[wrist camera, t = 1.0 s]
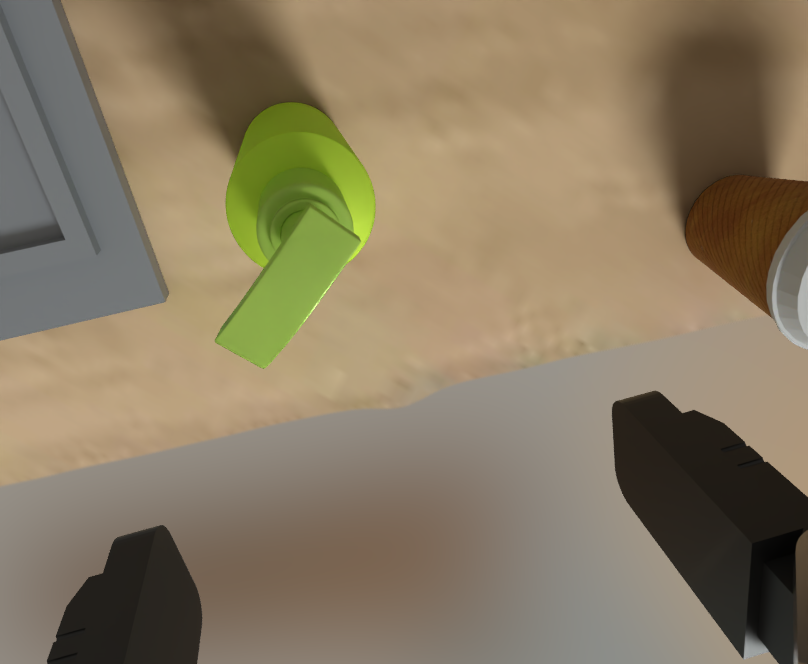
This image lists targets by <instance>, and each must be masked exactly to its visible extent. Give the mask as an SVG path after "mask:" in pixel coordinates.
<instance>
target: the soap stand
mask: <svg viewBox="0 0 808 664" xmlns="http://www.w3.org/2000/svg"><path fill="white" fill-rule="evenodd" d="M168 295H169V291H168V289H167V286H166V283H165V281H164V278H163V275H162V272H161V270H160V267H159V264H158V262H157V259H156V256H155V254H154V251H153V248H152V246H151V243H150V240H149V237H148V235H147V232H146V229H145V227H144V224H143V221H142V219H141V216H140V213H139V211H138V208H137V205H136V202H135V200H134V197H133V194H132V192H131V189H130V186H129V184H128V181H127V178H126V176H125V173H124V170H123V167H122V165H121V162H120V159H119V157H118V154H117V151H116V149H115V146H114V143H113V141H112V138H111V135H110V132H109V130H108V127H107V124H106V122H105V119H104V116H103V114H102V111H101V108H100V106H99V103H98V100H97V97H96V95H95V92H94V89H93V87H92V84H91V81H90V79H89V76H88V73H87V71H86V68H85V65H84V62H83V60H82V57H81V54H80V52H79V49H78V46H77V44H76V41H75V38H74V36H73V33H72V30H71V27H70V25H69V22H68V19H67V17H66V14H65V11H64V9H63V6H62V3H61V1H60V0H0V341H1V340H5V339H9V338H13V337H18V336H22V335H26V334H31V333H35V332H39V331H43V330H48V329H52V328H56V327H61V326H65V325H69V324H73V323H78V322H82V321H86V320H91V319H95V318H99V317H104V316H108V315H112V314H116V313H121V312H125V311H129V310H134V309H138V308H142V307H146V306H151V305H155V304H159V303H164V302H166V299H167V297H168Z"/></svg>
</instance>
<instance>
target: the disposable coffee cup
mask: <svg viewBox="0 0 808 664" xmlns="http://www.w3.org/2000/svg"><path fill="white" fill-rule="evenodd" d="M686 240H687V244H688V247H689V249H690V251H691V252H692V254H693V255H694V256H695V257H696V258H697V259H698V260H700V261H701V262H702V263H704V264H705V265H706V266H708V267H709V268H710V269H711V270H713V271H714V272H715V273H716V274H718V275H719V276H720V277H721V278H723V279H724V280H725V281H726V282H727V283H729V284H730V285H731V286H733V287H734V288H735V289H736V290H738V291H739V292H740V293H741V294H742V295H744V296H745V297H746V298H748V299H749V300H750V301H751V302H752V303H754V304H755V305H756V306H758V307H759V308H760V309H761V310H763V311H764V312H765V313H766V314H768V315H769V316H770V317H772V318H773V319H774V321H775V323H776V325H777V327H778V329H779V330H780V331H781V332H782V333H783V334H784V335H785V336H786V337H787V338H788V339H789V340H790V341H791V342H792V343H794V344H796V345H798V346H800V347H802V348H804V349H808V181H805V182H804V181H795V180H787V179H775V178H774V179H773V178H765V177H755V176H746V175H733V176H729V177H725V178H723V179H721V180H718V181H717V182H715V183H714V184H712V185H711V186H709V187H708V188H707V189H706V190H705V191H704V192H703V193H702V194H701V195H700V197H699V198H698V199H697V200H696V202H695V203H694V205H693V207H692V209H691V211H690V213H689V216H688V219H687V224H686Z"/></svg>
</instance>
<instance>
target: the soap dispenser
mask: <svg viewBox="0 0 808 664" xmlns="http://www.w3.org/2000/svg"><path fill="white" fill-rule="evenodd" d="M226 214H227V219H228V223H229V226H230V229H231V232H232V234H233V236H234V238H235V240H236V242H237V243H238V245H239V246H240V247H241V249H242V250H243V251H244V252H245V253H246V255H247V256H248V257H250V258H251V259H252V260H253V261H254V262H255V263H257V264H258V265H260V266H261V267H263V268H264V269H263V270H262V272H261V273H260V275H259V276H258V278H257V279H256V281H255V282H254V283H253V285H252V286H251V288H250V289H249V291H248V292H247V293H246V295H245V296H244V298H243V299H242V300H241V302H240V303H239V305H238V306H237V307H236V309H235V310H234V311H233V313H232V314H231V315H230V317H229V318H228V319H227V321H226V322H225V323H224V325H223V326H222V328H221V329H220V331H219V333H218V335H217V337H216V339H215V342H216V343H217V344H219V345H221V346H222V347H224V348H226V349H228V350H230V351H231V352H233V353H235V354H237V355H239V356H240V357H242V358H244V359H246V360H248V361H250V362H251V363H253V364H255V365H257V366H259V367H261V368H263V369H264V368H266V367H267V366H268V365H269V364H270V363H271V362H272V361H273V360H274V358H275V357H276V356H277V355H278V354H279V353H280V352H281V350H282V349H283V348H284V347H285V346H286V344H287V343H288V342H289V341H290V340H291V338H292V337H293V336H294V335H295V333H296V332H297V331H298V330H299V328H300V327H301V326H302V325H303V323H304V322H305V321H306V319H307V318H308V317H309V315H310V314H311V313H312V311H313V310H314V309H315V307H316V306H317V304H318V303H319V302H320V300H321V299H322V298H323V296H324V295H325V293H326V292H327V291H328V289H329V288H330V286H331V285H332V283H333V282H334V281H335V279H336V278H337V276H338V275H339V273H340V272H341V271H342V269H343V268H344V266H345V265H346V264H347V263H348V262H350V261H351V260H352V259H353V258H354V257H355V256H356V255H357V254H358V253H359V252H360V250H361V249H362V248H363V246H364V245H365V243H366V241H367V239H368V237H369V235H370V233H371V230H372V227H373V223H374V218H375V195H374V190H373V186H372V183H371V180H370V178H369V176H368V174H367V172H366V170H365V168H364V167H363V165H362V164H361V162H360V161H359V159H358V158H357V156H356V155H355V153H354V152H353V151H352V149H351V148H350V146H349V145H348V143H347V142H346V140H345V139H344V138H343V136H342V135H341V133H340V132H339V130H338V129H337V127H336V126H335V125H334V123H333V122H332V121H331V120H330V119H329V118H328V117H327V116H326V115H325V114H324V113H322V112H321V111H319V110H318V109H316V108H314V107H312V106H309V105H306V104H302V103H296V102H286V103H280V104H276V105H274V106H271V107H269V108H267V109H265V110H264V111H262V112H261V113H260V114H259V115H257V116H256V117H255V119H254V120H253V121H252V122H251V124H250V125H249V127H248V129H247V131H246V133H245V136H244V139H243V142H242V145H241V148H240V150H239V153H238V156H237V159H236V162H235V165H234V168H233V171H232V174H231V177H230V180H229V183H228V187H227V192H226Z"/></svg>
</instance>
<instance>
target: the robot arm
mask: <svg viewBox="0 0 808 664" xmlns="http://www.w3.org/2000/svg"><path fill="white" fill-rule="evenodd" d="M612 422H613V440H614V458H615V471H616V476H617V480H618V483H619V486H620V489H621V491H622V494H623V496H624V497H625V499H626V501H627V503H628V504H629V505H630V507H631V508H632V510H633V511H634V512H635V514H636V515H637V516H638V518H639V519H640V520H641V522H642V523H643V524H644V526H645V527H646V528H647V530H648V531H649V532H650V534H651V535H652V537H653V538H654V539H655V541H656V542H657V543H658V545H659V546H660V547H661V549H662V550H663V551H664V553H665V554H666V555H667V557H668V558H669V559H670V561H671V562H672V563H673V565H674V566H675V568H676V569H677V570H678V572H679V573H680V574H681V576H682V577H683V578H684V580H685V581H686V582H687V584H688V585H689V586H690V588H691V589H692V591H693V592H694V593H695V595H696V596H697V597H698V599H699V600H700V601H701V603H702V604H703V605H704V607H705V608H706V609H707V611H708V612H709V613H710V615H711V616H712V617H713V619H714V620H715V621H716V623H717V624H718V626H719V627H720V628H721V630H722V631H723V632H724V634H725V635H726V636H727V638H728V639H729V640H730V642H731V643H732V644H733V646H734V647H735V649H736V650H737V651H738V652H739V654H740V655H741V657H742V658H743V659H747V658H750V657H753V656H756V655H760V654H763V653H766V652H770V653H771V654H772V655H773V657H774V658H775V659H776V660H777V662H778V663H779V664H808V497H807V496H806V495H805V494H803V493H802V492H801V491H800V490H799V489H798V488H797V487H795V486H794V485H793V484H792V483H791V482H790V481H789V480H788V479H786V478H785V477H784V476H783V475H782V474H781V473H780V472H778V471H777V470H776V469H775V468H774V467H773V466H771V465H770V464H769V463H768V462H764V461H763V458H762V457H761V456H760V455H759V454H758V453H757V452H756V451H755V450H754V449H752V448H751V447H750V446H746V444H745V442H744V441H743V440H742V439H741V438H740V437H739V436H737V435H736V434H735V433H734V432H733V431H732V430H731V429H730V428H728V427H727V426H726V425H725V424H724V423H722V422H720V421H718V420H715V419H713V418H711V417H709V416H706V415H704V414H702V413H700V412H698V411H695V410H692V411H689V412H685V413H681V412H680V411H679V410H678V409H677V408H676V407H675V406H674V405H673V404H672V403H671V402H670V401H669V400H668V399H667V398H666V397H664V396H663V395H662V394H661V393H660V392H658V391H652V392H648V393H645V394H641V395H637V396H634V397H630V398H626V399H623V400H619V401H616V402H615V403H614V404H613V407H612ZM201 628H202V609H201V603H200V597H199V594H198V590H197V588H196V585H195V583H194V581H193V579H192V577H191V575H190V573H189V571H188V569H187V567H186V565H185V563H184V561H183V559H182V556H181V554H180V552H179V550H178V548H177V546H176V544H175V542H174V540H173V538H172V536H171V534H170V532H169V531H168V530H167V528H166V527H165V526H163V525H160V526H156V527H153V528H149V529H146V530H142V531H138V532H134V533H131V534H127V535H124V536H120V537H117V538H116V539H115V540H114V542H113V544H112V547H111V550H110V553H109V556H108V559H107V562H106V565H105V569H104V572H103V574H99V575H95V576H92V577H89V578H88V579H87V580H86V582H85V583H84V584H83V586H82V587H81V588H80V589H79V591H78V592H77V593H76V595H75V596H74V597H73V599H72V600H71V601H70V603H69V604H68V605H67V607H66V610H65V612H64V615H63V618H62V621H61V624H60V626H59V629H58V632H57V635H56V638H57V641H56V642H54V643H53V645H52V649H51V651H50V654H49V657H48V659H47V663H48V664H197V660H198V652H199V643H200V636H201Z"/></svg>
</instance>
